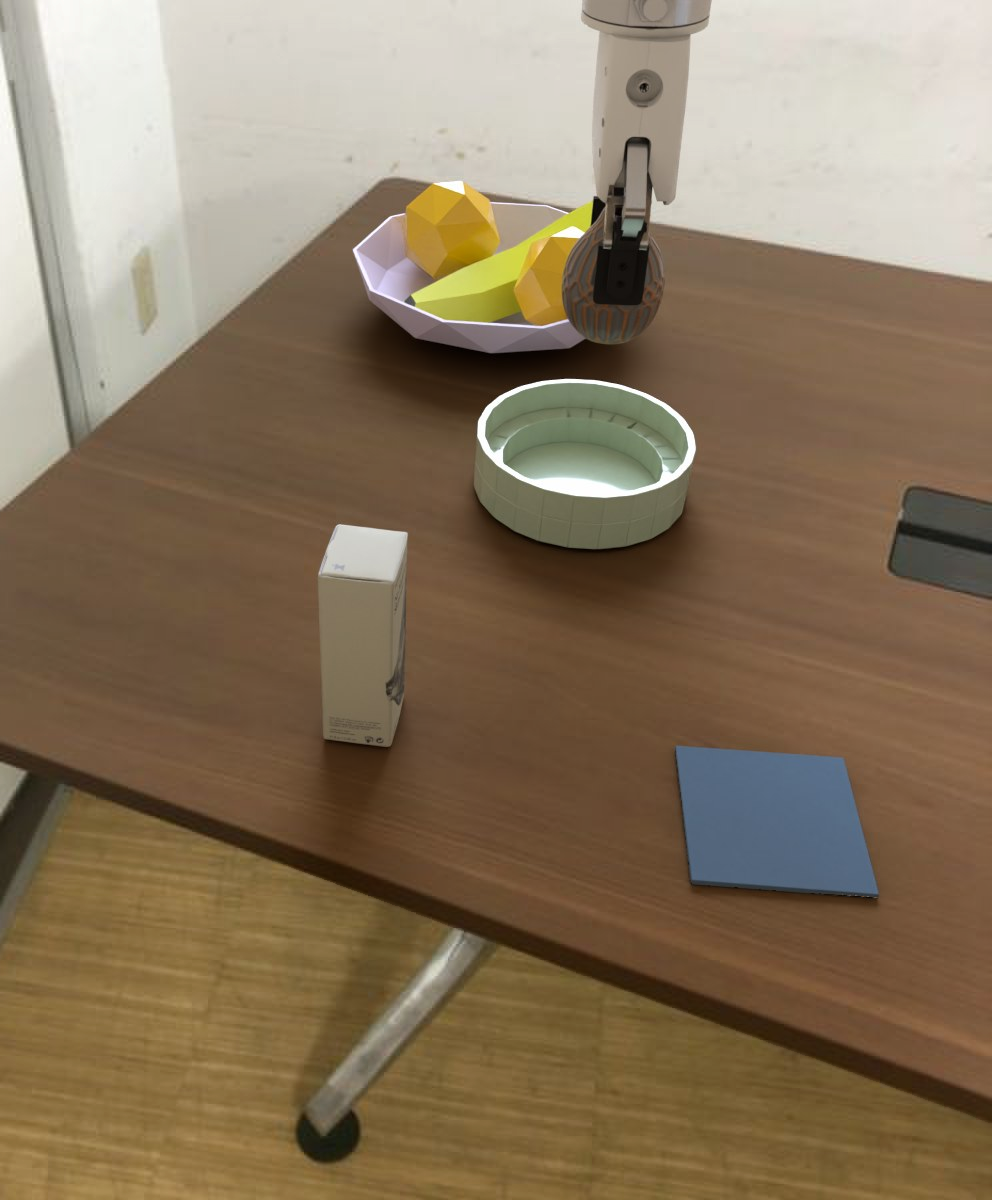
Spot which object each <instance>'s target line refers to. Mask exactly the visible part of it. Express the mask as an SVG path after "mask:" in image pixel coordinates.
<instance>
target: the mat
mask: <svg viewBox="0 0 992 1200" xmlns="http://www.w3.org/2000/svg"><path fill="white" fill-rule="evenodd" d="M675 751H676V757H675V760H676V759H677V765H676V768H677V767H678V773H677V777H678V776H679V782H678V785H679V784H680V790H679V793H680V792H681V798H680V801H681V800H682V807H681V813H682V812H683V815H682V821H683V820H684V823H683V831H684V830H685V832H684V838H685V837H686V840H685V846H687V848H686V856H687V855H688V856H687V863H688V862H689V865H688V872H689V881H690V880H691V881H690V884H691V883H692V884H691V885H696V886H708V885H710V887H720V888H722V887H723V888H734V887H738V888H737V889H750V890H759V889H761V891H772V890H776V891H775V892H784V893H785V892H786V893H787V892H788V893H799V894H811V893H815V894H814V895H824V894H838V895H842V894H843V895H851V896H855V895H857V896H864V897H867V896H869V897H878V898H879V895H880V893H879V889H878V884H877V881H876V878H875V873H874V869H873V866H872V862H871V858H870V854H869V850H868V846H867V842H866V839H865V835H864V831H863V827H862V823H861V820H860V817H859V812H858V807H857V804H856V800H855V797H854V792H853V789H852V785H851V781H850V778H849V773H848V770H847V769H848V768H847V766H846V762H845V758H844V757H840V756H828V755H827V756H825V755H813V754H812V755H811V754H797V753H786V752H771V751H757V750H756V751H755V750H742V749H741V750H740V749H727V748H713V747H701V746H700V747H699V746H685V745H675V746H674V752H675ZM682 809H683V811H682ZM683 818H684V819H683ZM684 828H685V829H684ZM819 893H821V894H819Z"/></svg>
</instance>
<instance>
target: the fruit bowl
mask: <svg viewBox="0 0 992 1200" xmlns="http://www.w3.org/2000/svg"><path fill="white" fill-rule="evenodd" d="M592 207H593V200H591V201H589V202H587V203H585V204H584V205H582V206H579V207H578V208H575V209H573V210H571V211H570V212H567V211H564V210H561V209H558V208H557V207H556V208H555V207H553V206H550V205H547V204H533V203H532V204H531V203H530V204H529V203H513V202H495V201H491V200H490V198H488V197H486V196H485V195H483V194H482V193H480V192H479V191H477V190H476V189H475V188H473V187H472V186H470V185H469V184H468V183H466V182H465V181H463V180H457V181H444V182H432V184H430V185H429V186H428V187H427V188H426V189H425V190H423V192H421V193H420V194H419V195H418V196H416V198H415V199H413V200H412V201H410V203H409V204H407V205H406V208H405V212H404V213H398V214H395V215H390V216H388V218H386V219H385V220H384V221H383V222H382V223H380V224H379V226H377V228H375V229H374V230H373V231H372V232H370V233H369V234H368V235H367V236H366V237H365V238H364V239H363V240H362V241H361V242H359V244H357V245H356V246H355V247H353V248H352V252H353V253H352V254H353V255H354V258H355V261H356V265H357V268H358V270H359V274H360V276H361V281H362V283H363V285H364V288H365V291H366V294H367V297H368V301H369V302H371V303H372V304H373V305H375V306H376V307H377V308H378V309H379V310H381V311H382V312H383V313H384V314H385V315H387V316H388V317H389V318H390V319H392V321H394V323H396V324H397V325H398V326H400V327H401V328H402V329H403V330H405V331H406V332H407V333H409V335H411V336H412V337H413V338H414V339H417V340H418V339H419V340H424V341H429V342H432V343H439V344H444V345H448V346H453V347H459V348H463V349H468V350H473V351H478V352H484V353H488V354H504V353H517V352H519V353H520V352H531V351H533V352H535V351H547V350H548V351H549V350H564V349H570V348H573V347H574V346H576V345H577V344H579V343H581V342H583V341H584V340H587V339H586V338H584V337H583V336H582V335H581V334H580V333H579V332H578V331H577V330H576V329H575V328H574V327H573V326H572V324H571V323H570V321H569V320H568V318H567V315H566V313H565V310H564V306H563V301H562V277H563V271H564V267H565V264H566V261H567V258H568V256H569V254H570V252H571V250H572V248H573V246H574V245H575V243H576V242H577V241H578V239H579V238H580V237H581V236H582V235H583V234H584V233H585V232H586V231H587V230H588V229H589V228H590V226H591V216H592Z"/></svg>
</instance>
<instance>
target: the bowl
mask: <svg viewBox="0 0 992 1200" xmlns="http://www.w3.org/2000/svg"><path fill="white" fill-rule="evenodd" d="M476 428H477V429H476V443H475V458H474V459H475V461H474V474H473V488H474V490H475V493H476V495H477V498H478V500H479V502H480V503H481V504H482V506H483V507H484V508H485V509H486V511H487V512H488V513H489V514H490V515H491V516H492V517H493V518H494V519H495V520H496V521H498V522H500V523H502V524H503V525H504V526H506V527H508V528H509V529H510V530H512V531H513V532H516V533H518V534H520V535H522V536H525V537H528V538H530V539H533V540H535V541H537V542H541V543H545V544H550V545H555V546H559V547H564V548H569V549H570V548H571V549H584V550H585V549H586V550H603V549H604V550H605V549H606V550H607V549H613V548H624V547H629V546H632V545H635V544H638V543H642V542H645V541H649V540H652V539H653V538H655V537H657V536H658V535H660V534H662V533H664V532H665V531H667V530H669V529H670V528H671V527H672V525H674V523H675V522H676V521H677V520H678V519H679V518H680V517H681V515H682V514H683V511H684V508H685V504H686V501H687V497H688V492H689V488H690V483H691V477H692V473H693V469H694V463H695V462H694V461H695V458H696V453H697V445H696V444H697V443H696V439H695V434H694V432H693V430H692V429H691V427H690V426H689V424H688V422H687V421H686V419H685V418H684V417H683V416H682V415H681V414H679V413H678V412H677V411H676V410H675V409H673V408H672V407H671V406H670V405H668V404H667V403H665V402H663V401H662V400H660V399H657V397H654V396H652V395H650V394H648V393H646V392H643V391H640V390H637V389H633V388H631V387H628V386H625V385H622V384H617V383H611V382H607V381H601V380H595V379H578V378H577V379H576V378H564V379H552V380H551V379H549V380H542V381H536V382H533V383H529V384H525V385H520V386H517V387H516V388H514V389H511V390H509V391H507V392H505V393H503V394H501V395H499V396H498V397H496V398H495V399H494V400H493V401H492V402H490V403H489V404H487V406H485V408H484V410H483V412H482V413H481V415H480V416H479V418H478V420H477V427H476Z"/></svg>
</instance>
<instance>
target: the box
mask: <svg viewBox="0 0 992 1200" xmlns="http://www.w3.org/2000/svg"><path fill="white" fill-rule="evenodd" d="M408 536H409V533H408V532H407V531H398V530H391V529H383V528H374V527H367V526H357V525H349V524H339V523H338V524H337V525H336V526H335V527H334V529H333V532H332V534H331V537H330V540H329V542H328V544H327V547H326V550H325V553H324V556H323V558H322V561H321V565H320V567H319V570H318V573H317V592H318V593H317V595H318V596H317V597H318V618H319V619H318V620H319V623H318V625H319V648H320V649H319V650H320V652H319V653H320V675H321V677H320V678H321V680H320V681H321V700H322V701H321V704H322V706H321V707H322V737H323V739H324V740H330V741H337V742H345V743H351V744H360V745H368V746H375V747H384V748H389V747H392V744H393V740H394V737H395V734H396V731H397V728H398V724H399V719H400V715H401V712H402V706H403V703H404V698H405V697H404V696H405V684H406V683H405V681H406V677H405V676H406V635H407V628H406V627H407V567H408V566H407V564H408V562H407V560H408V540H409V539H408V538H409V537H408Z"/></svg>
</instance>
